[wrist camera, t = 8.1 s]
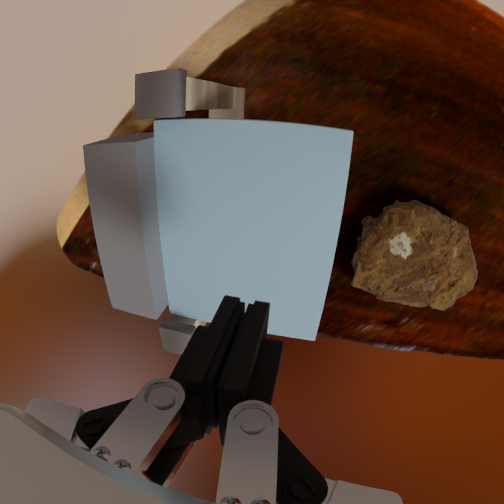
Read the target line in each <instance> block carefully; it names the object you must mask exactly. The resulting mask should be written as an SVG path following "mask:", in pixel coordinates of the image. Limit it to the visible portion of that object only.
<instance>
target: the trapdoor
mask: <svg viewBox="0 0 504 504" xmlns="http://www.w3.org/2000/svg"><path fill="white" fill-rule="evenodd" d="M353 132H354V131H352V130H346V129H340V128H333V127H326V126H318V125H310V124H301V123H292V122H280V121H267V120H250V119H220V118H192V119H162V120H155V121H154V132H151V133H132V134H125V135H121V136H117V137H113V138H109V139H105V140H101V141H98V142H94V143H91V144H87V145H83V149H84V161H85V171H86V180H87V188H88V195H89V202H90V209H91V215H92V221H93V227H94V232H95V237H96V242H97V247H98V252H99V257H100V261H101V265H102V270H103V274H104V278H105V281H106V285H107V289H108V293H109V297H110V300H111V304H112V307H113V308H117V309H120V310H123V311H126V312H130V313H133V314H137V315H141V316H144V317H148V318H152V319H155V320H157V319H158V317H159V316H160V315H161V313H162V312H163V310H164V309H165V308H166V306H167V305H168V304H169V309H170V313H171V314H175V315H179V316H183V317H188V318H192V319H197V320H201V321H206V322H210V323H211V321H212V319H213V317H214V315H215V313H216V311H217V309H218V307H219V305H220V304H221V302H222V300H223V298H224V296H225V295H228V296H233V297H239V298H240V302H245V312H246V309H247V306H248V304H249V303H251V304H254V302H255V300H257V301H263V302H269V303H270V310H269V320H268V329H267V333H268V334H274V335H280V336H286V337H292V338H299V339H306V340H312V341H315V338H316V334H317V330H318V326H319V323H320V319H321V314H322V310H323V306H324V302H325V298H326V293H327V289H328V284H329V280H330V275H331V270H332V266H333V261H334V256H335V251H336V246H337V240H338V235H339V230H340V224H341V218H342V212H343V206H344V200H345V194H346V187H347V180H348V173H349V166H350V158H351V150H352V142H353Z"/></svg>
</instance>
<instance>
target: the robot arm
mask: <svg viewBox="0 0 504 504" xmlns="http://www.w3.org/2000/svg"><path fill="white" fill-rule="evenodd" d="M269 310H270V303H269V302H263V301H257V300H255V302H254V304H251V303H249V304H248V306H247V309H246V312H245V302H240V298H239V297H233V296H228V295H225V296H224V298H223V300H222V302H221V304H220V305H219V307H218V309H217V311H216V313H215V315H214V317H213V319H212V321H211V323H210V325H209V327H207V326H202V325H199V326H197V328H196V330H195V331H194V333H193V335H192V337H191V339H190V341H189V342H188V344H187V346H186V348H185V350H184V352H183V353H182V355H181V357H180V359H179V361H178V363H177V365H176V366H175V368H174V370H173V372H172V374H171V376H170V377H169V378H157V379H153V380H151V381H149V382H148V383H146V384H145V386H143V387H142V389H141V390H140V391H139V392H138V393H137V395H136V396H135V397H134V398H133V399H130V400H126V401H123V402H120V403H116V404H113V405H109V406H106V407H102V408H98V409H95V410H91V411H88V412H85V411H83V410H82V409H81V408H77V407H73V406H70V405H66V404H63V403H59V402H56V401H53V400H50V399H47V398H44V397H38V398H35V399H34V400H32V401H30V403H29V405H28V406H27V408H26V410H25V412H24V411H22V410H20V409H18V408H16V407H13V406H10V405H7V404H1V403H0V504H403V502H402V499H401V497H399V495H398V494H397V493H394V492H391V491H387V490H381V489H375V488H371V487H366V486H361V485H356V484H352V483H347V482H343V481H340V480H338V481H332V480H329V479H325V478H324V477H323V476H322V475H321V474H320V473H319V471H318V470H316V468H315V467H314V466H313V465H312V464H311V463H310V462H309V461H308V460H307V459H306V458H305V456H304V455H303V454H302V453H301V452H300V451H299V450H298V449H297V448H296V447H295V445H294V444H293V443H292V442H291V441H290V440H289V439H288V437H287V436H286V435H285V434H284V433H283V432H282V431H281V429H280V428H279V427H278V416H277V414H276V412H275V410H274V409H273V408H272V407H271V403H272V399H273V394H274V389H275V385H276V380H277V376H278V371H279V366H280V361H281V355H282V350H283V344H284V341H280V340H274V339H268V338H267V329H268V320H269ZM218 426H219V431H220V439H221V444H222V445H223V447H224V449H223V456H222V463H221V470H220V477H219V484H218V490H217V498H216V503H213V502H210V501H206V500H203V499H199V498H196V497H192V496H189V495H186V494H183V493H180V492H177V491H174V490H171V489H168V488H167V487H168V485H169V484H170V482H171V481H172V479H173V478H174V476H175V475H176V473H177V471H178V470H179V468H180V467H181V465H182V464H183V462H184V460H185V459H186V457H187V456H188V454H189V453H190V451H191V449H192V448H193V446H194V444H195V441H197V440H199V439H202V438H203V436H204V434H205V433H208V434H210V433H211V430H212V427H213V428H218Z"/></svg>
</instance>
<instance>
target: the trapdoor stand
mask: <svg viewBox="0 0 504 504" xmlns="http://www.w3.org/2000/svg"><path fill="white" fill-rule="evenodd" d="M186 75H187V70H182V69H170V70H162V71H155V72H148V73H141V74H136V75H135V120H138V119H151V118H170V117H183V116H185V115H186V111H189V110H208V109H209V118H220V119H244V99H245V88H237V87H233V86H228V85H224V84H220V83H215V82H210V81H205V80H200V79H195V78H190V77H186ZM206 323H207V322H206V321H201V320H197V319H192V318H188V317H183V316H179V315H175V314H173V316H172V317H171V319H170V320H168V319H164V320H163V321H162V323H161V324H160V326H159V330H160V335H161V339H162V344H163V348H164V350H166V351H169V352H173V353H176V354H180V355H182V353H183V352H184V350H185V348H186V346H187V344H188V342H189V341H190V339H191V337H192V335H193V333H194V331H195V330H196V328H197V326H199V325H202V326H205V324H206Z"/></svg>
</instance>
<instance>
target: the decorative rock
mask: <svg viewBox="0 0 504 504" xmlns="http://www.w3.org/2000/svg"><path fill="white" fill-rule="evenodd" d="M361 223H362V225H363V230H362V237H360V236H358V237H357V241H358V245H357V250H356V251H355V253H354V256H353V258H352V261H351V262H352V265H353V268H354V273H355V274H354V277H353V280H352V282H351V285H352V286H354V287H356V288H361V289H363V290H364V291H367V292H370V293H372V294H373V295H375V296H376V298H377V299H382V300H384V301H392V302H396V303H401V304H403V305H409V306H410V307H412V306H415V307H425V306H428V305H429V306H431V307H432V308H434V309H439V310H444V311H445V310H446V309H447V308H448V307H452V305H453V304H454V303H455V302H456V299H458V298H460V297H462V296H464V295H466V294H467V293H468V292H469V291H470V290H472V289H473V287H474V284H475V281H476V279H477V272H478V270H477V269H476V262H475V256H474V253H473V251H472V248H471V242H470V239H469V231H468V227H467V226H465V225H463V224H461V223H459V222H457V221H456V220H454V219H453V218H450V217H448V216H446V215H444V214H441V213H440V212H439V211H438V210H437V209H435V208H434V207H431V206H427V205H425V204H423V203H421V202H419V201H417V200H413V201H410V202H399V201H397V200H396V201H395V202H394V205H390V206H387V207H385V208H384V209H383V212H382V213H381V214H380V215H379V216H378V218H377V219H375V218H373V217H371V216H366V217H365V218H364V219H363V220H362V222H361Z"/></svg>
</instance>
